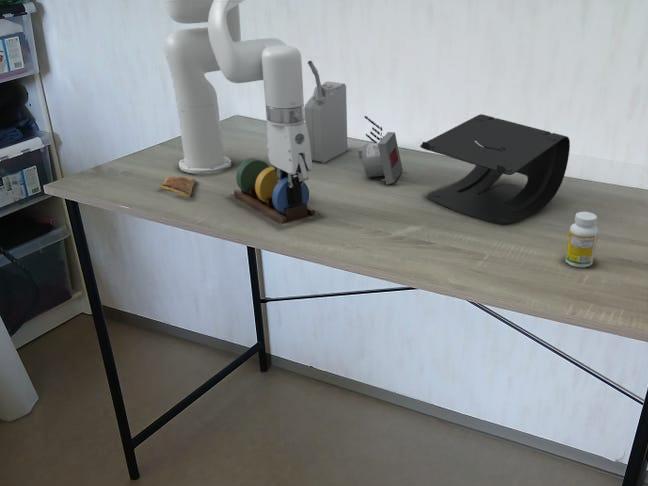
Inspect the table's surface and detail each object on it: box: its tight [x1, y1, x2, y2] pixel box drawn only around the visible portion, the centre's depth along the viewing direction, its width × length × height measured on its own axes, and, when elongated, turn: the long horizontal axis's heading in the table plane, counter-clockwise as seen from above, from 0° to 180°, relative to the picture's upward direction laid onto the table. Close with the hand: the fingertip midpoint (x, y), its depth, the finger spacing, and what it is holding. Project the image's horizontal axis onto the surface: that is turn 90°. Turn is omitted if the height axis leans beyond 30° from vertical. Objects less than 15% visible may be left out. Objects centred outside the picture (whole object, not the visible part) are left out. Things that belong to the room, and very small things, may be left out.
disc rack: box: [229, 186, 321, 226], centre depth 164 cm, size 22×10×3 cm, turn 41°
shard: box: [159, 176, 196, 198], centre depth 170 cm, size 11×8×2 cm
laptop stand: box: [419, 113, 571, 225], centre depth 168 cm, size 26×24×16 cm
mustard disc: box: [255, 166, 278, 203], centre depth 162 cm, size 2×8×8 cm, turn 131°
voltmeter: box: [357, 115, 403, 186], centre depth 185 cm, size 27×11×10 cm, turn 23°
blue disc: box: [272, 176, 310, 215], centre depth 157 cm, size 2×8×8 cm, turn 131°
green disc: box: [235, 157, 270, 194], centre depth 166 cm, size 2×8×8 cm, turn 131°
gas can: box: [304, 60, 348, 164], centre depth 188 cm, size 15×5×25 cm, turn 155°
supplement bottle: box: [565, 211, 599, 268], centre depth 142 cm, size 5×5×10 cm
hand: (291, 201), depth 158 cm, fingers closed
